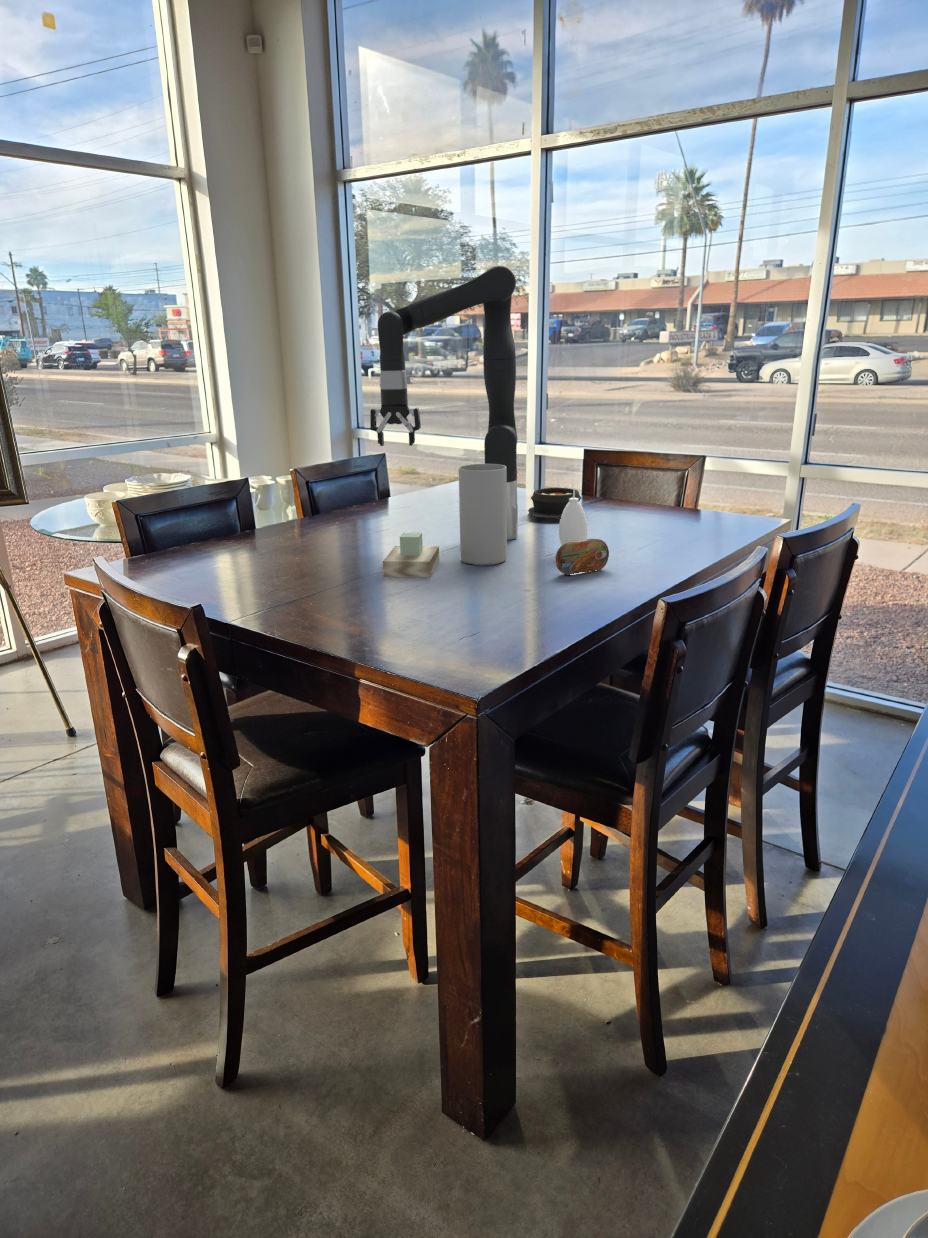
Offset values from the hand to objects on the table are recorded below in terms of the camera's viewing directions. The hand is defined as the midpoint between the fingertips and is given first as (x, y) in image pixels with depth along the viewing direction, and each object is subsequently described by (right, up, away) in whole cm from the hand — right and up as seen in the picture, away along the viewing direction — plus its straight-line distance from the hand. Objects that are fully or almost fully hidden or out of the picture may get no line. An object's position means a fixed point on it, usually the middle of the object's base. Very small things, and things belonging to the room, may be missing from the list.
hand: (396, 445), depth 230 cm
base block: (+6, -37, -21) cm, 43 cm away
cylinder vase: (+25, -34, -15) cm, 45 cm away
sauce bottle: (+50, -32, -10) cm, 60 cm away
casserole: (+51, -16, +39) cm, 66 cm away
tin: (+49, -39, -28) cm, 69 cm away
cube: (+6, -33, -22) cm, 40 cm away
